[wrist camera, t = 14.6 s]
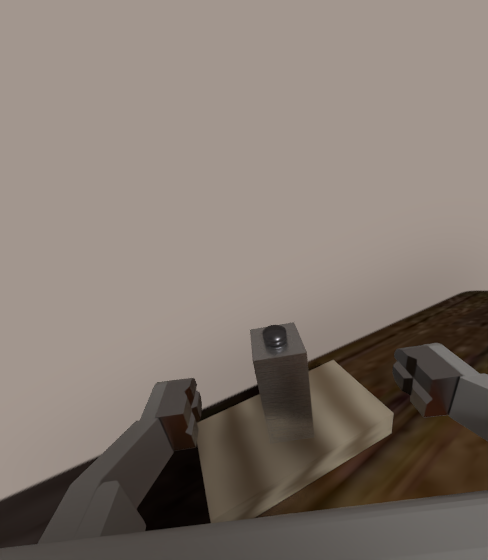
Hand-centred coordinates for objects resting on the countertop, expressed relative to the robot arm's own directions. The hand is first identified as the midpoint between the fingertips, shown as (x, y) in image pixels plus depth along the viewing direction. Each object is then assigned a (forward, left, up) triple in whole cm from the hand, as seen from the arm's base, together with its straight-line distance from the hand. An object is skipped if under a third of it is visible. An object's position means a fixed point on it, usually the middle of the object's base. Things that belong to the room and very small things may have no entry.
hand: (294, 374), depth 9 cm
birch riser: (-6, +11, -23) cm, 26 cm away
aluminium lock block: (-6, +10, -20) cm, 23 cm away
